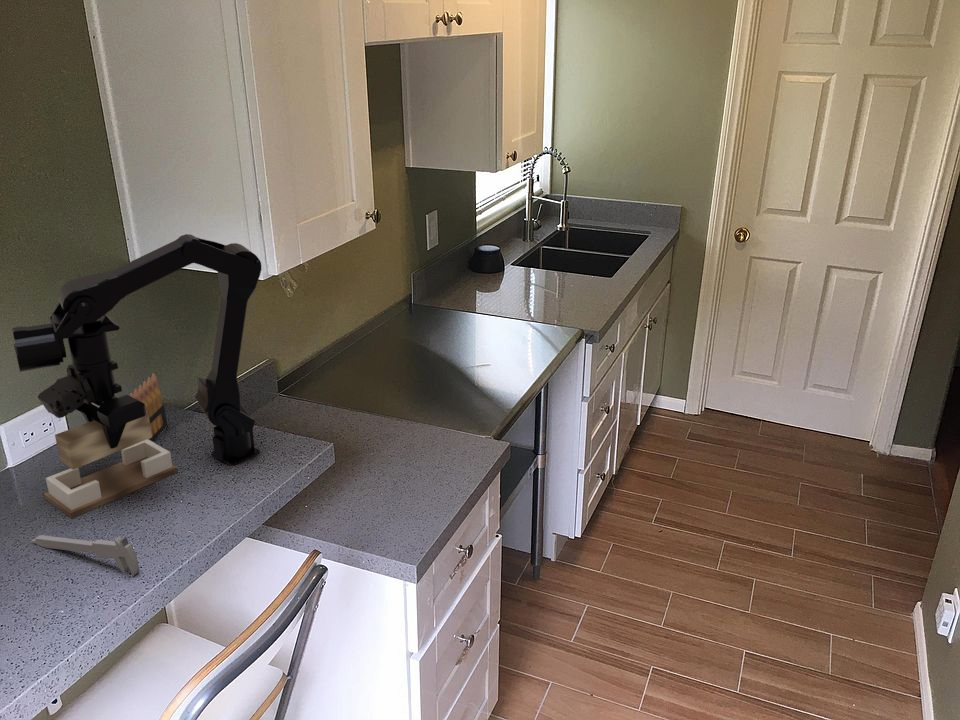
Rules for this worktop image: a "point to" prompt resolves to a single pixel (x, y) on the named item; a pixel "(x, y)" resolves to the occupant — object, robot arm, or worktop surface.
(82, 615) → the worktop surface
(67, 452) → the maple slat
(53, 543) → the caliper
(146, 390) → the ammunition clip
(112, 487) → the walnut board
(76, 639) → the worktop surface
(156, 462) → the end caps
